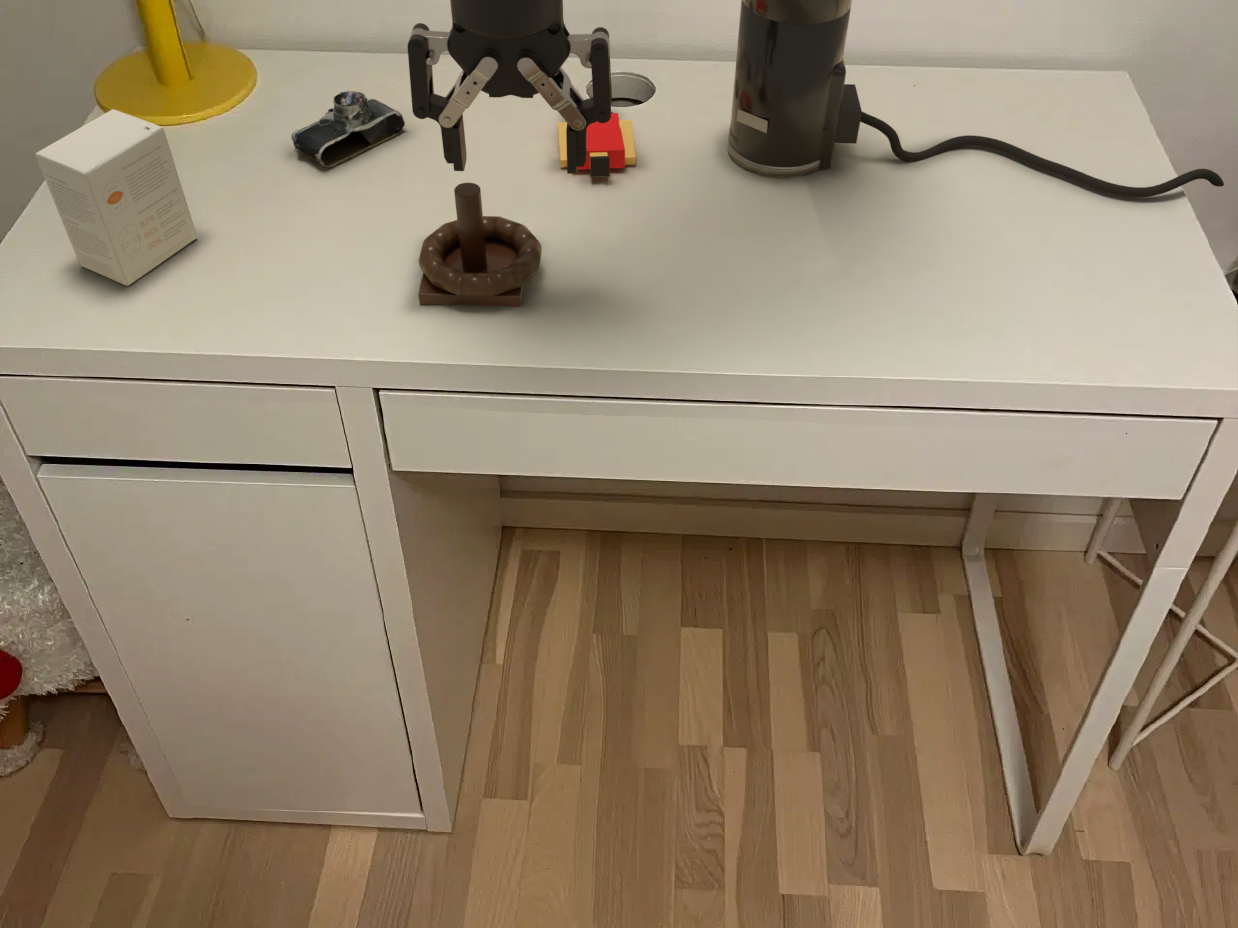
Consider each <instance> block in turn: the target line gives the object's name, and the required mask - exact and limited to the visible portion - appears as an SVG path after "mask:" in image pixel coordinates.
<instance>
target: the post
mask: <svg viewBox="0 0 1238 928" xmlns="http://www.w3.org/2000/svg"><path fill="white" fill-rule="evenodd" d="M453 191H454V193H453V194H454V201H455V202H454V203H455V211H456V220H457V222H458V231H459V240H460V243H457V244H454V245H453V246H452V247H451V248H450V249H448V250H447V251H446V252H445V253H444V255H443V261H444V262H445V263H446V265H447V266H448V267H450V268H453V269H456V270H458V271H461V272H463V273H490V272H493V271H496V270H499V269H503V268H506V267H508V266H509V265H510V264H511V263H513V262H514V261H515V260H516V259H517V258H518V251H517V249H516V248H515V247H514V246H513V245H512V244H509V243H507V242H504V241H501V240H499V239H491V238H485V234H484V223H483V216H484V213H483V212H484V211H483V201H482V189H481V187H480V185H479V184H477V183H475V182H462V183H459V184H457V185H456V186H455V187H454V190H453ZM524 285H525V283H524V284H523V285H522V286H521V287H519V288H517V289H514V290H511V291H508V292H504V293H501V294H498V295H495V296H492V297H472V296H458V295H456V294H453V293H451V292H448V291H446V290H443V289H441V288H438V287H436V286H434V285H433V284H432V283H431V282H430V280H429V279H428V278H427V276H426V275H425V273H424V272H423V271H422V277H421V281H420V284H419V290H418V294H417V295H418V296H417V297H418V302H419V305H449V306H453V305H454V306H490V307H491V306H492V307H493V306H494V307H496V306H498V307H521V306H522V299H523V292H524Z"/></svg>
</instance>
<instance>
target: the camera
mask: <svg viewBox="0 0 1238 928" xmlns="http://www.w3.org/2000/svg"><path fill="white" fill-rule="evenodd" d="M332 102H333V108H329V109H327V111H325V113H324V115H323V116H322V117H320V118H319V119H318V120H317V121H314V122H313V123H311V124H309V125H307V126H304V127H302V128H300V129H299V128H297V129H295V130H294V131H293V132H292V133H291V136H290V137H291V141H292V142H293V146H294V149H295V150H297V151H299V152H300V153H302V154H304V155H305V156H307V157H309V158H311V160H313V161H315V162H317V163H319V164H320V165H321V166H323V167H324V168H334V167H336V166H338V165H339V164H341V163H343V162H345V161H347V160H349V159H351V158H353V157H356V156H358V155H360V154H361V153H363V152H365V151H366V150H368V149H370V148H372V147H375V146H377V145H379V144H381V143H384V142H385V141H387V140H389V139H391V138H393V137H395V136H397V135H398V134H400V133H402V131H403V129H404V127H405V125H406V122H405V119H404V117H403V114H402V113H401V112H400V111H399V110H396V109H394V108H393V107H391V106H388V105H387V104H385V103H383V102H381V101H379V100H378V99H375V98H373V97H367V95H366V94H365V93H363V92H361V91H357V90H347V91H341V92H339V93H337V94H336V95H334V96H333V100H332Z"/></svg>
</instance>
